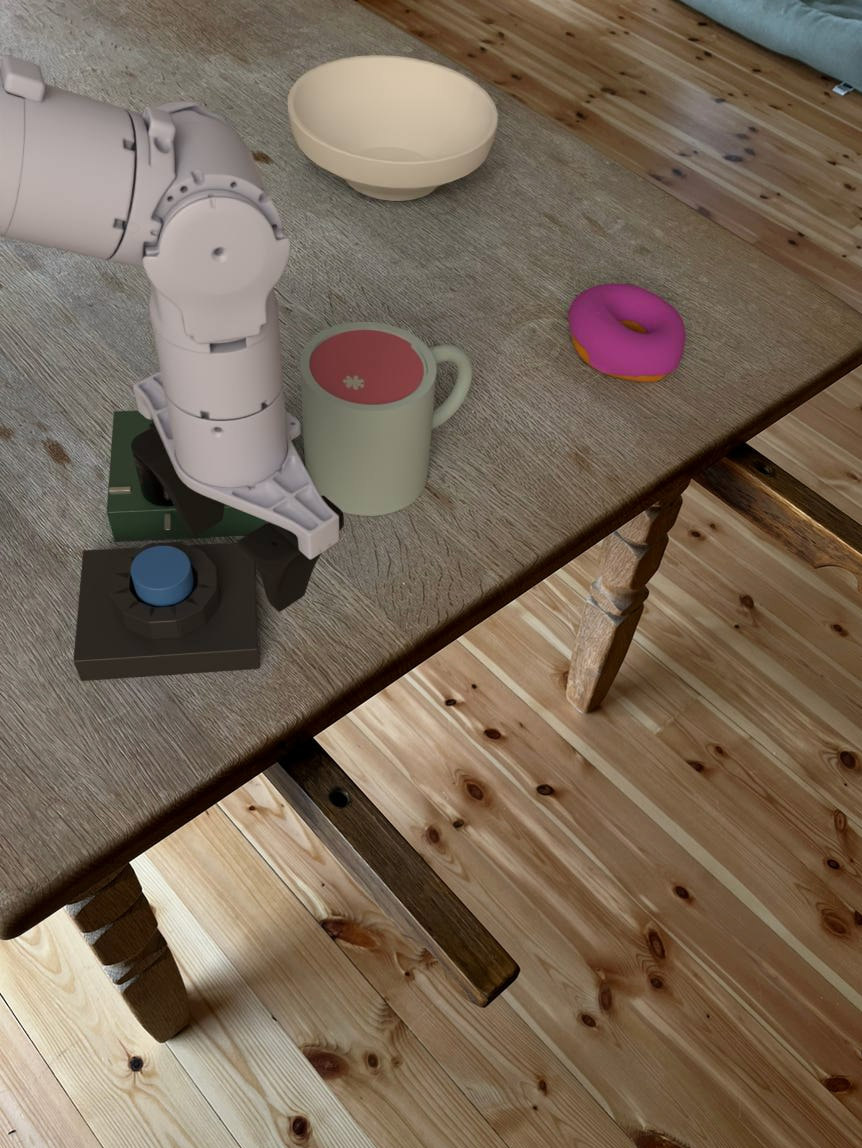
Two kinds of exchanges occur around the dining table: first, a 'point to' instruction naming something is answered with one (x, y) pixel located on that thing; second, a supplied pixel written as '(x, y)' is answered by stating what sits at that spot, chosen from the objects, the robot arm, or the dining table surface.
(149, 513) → the panel
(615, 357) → the donut
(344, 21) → the dining table surface
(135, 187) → the robot arm
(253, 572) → the button block
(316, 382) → the mug
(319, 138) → the bowl
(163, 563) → the plunger
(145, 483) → the knob
